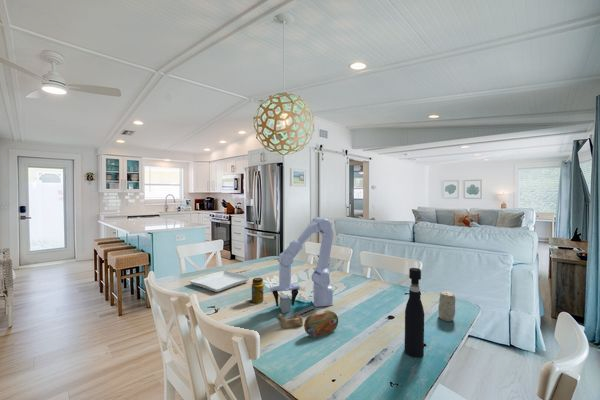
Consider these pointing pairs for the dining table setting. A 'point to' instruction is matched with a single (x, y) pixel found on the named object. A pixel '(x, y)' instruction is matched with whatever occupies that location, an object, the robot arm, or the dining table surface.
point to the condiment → (257, 292)
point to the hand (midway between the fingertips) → (285, 305)
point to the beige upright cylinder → (446, 306)
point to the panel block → (285, 303)
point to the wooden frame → (291, 321)
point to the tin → (320, 323)
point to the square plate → (220, 280)
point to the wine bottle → (414, 317)
